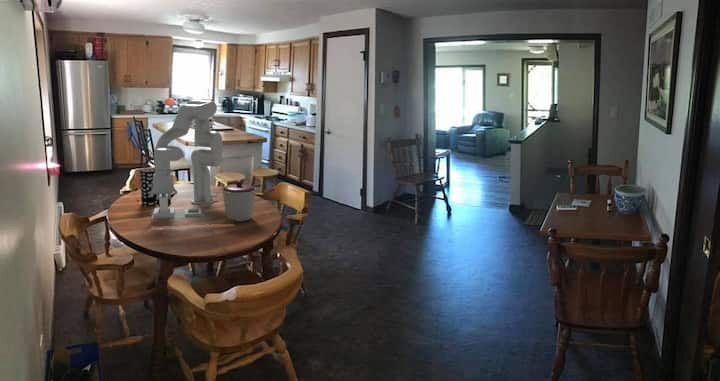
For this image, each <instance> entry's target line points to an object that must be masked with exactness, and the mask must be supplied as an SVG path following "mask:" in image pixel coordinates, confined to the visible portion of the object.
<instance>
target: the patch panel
mask: <svg viewBox="0 0 720 381" xmlns="http://www.w3.org/2000/svg"><path fill="white" fill-rule="evenodd" d="M153 210H154V211H153V212H152V215H151V218H150V220H151V222H152V221H153V220H160V219H161V220H162V219H184V218H185V219H190V218H205V210H204V209H202V208H200V207H199V208H185V209H184V210H176V208H175V206H174V207H173V206H172V207H170V206H169V212H160V207H155V208H154V209H153Z"/></svg>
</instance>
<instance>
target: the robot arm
mask: <svg viewBox="0 0 720 381" xmlns="http://www.w3.org/2000/svg"><path fill="white" fill-rule="evenodd" d="M217 108H218V107H217V104H216V102H215V101H214V100H207V99H205V100H204V99H190V100H188V101H187V102H186V103H183V104H181V106H179V109H178V111H177V114H176V116H175V119H174V121H173V124H172V126H171V127H170V128H169V129H168V130H166V131H165V132H164V133H162V135H161V136H159V138H158V140H157V142H156V146H155V148H154V151H153V157H154V161H153V162H154V170H155V174H154V176H153V188H152V190H151V191H150V193H149V194H150V195H152V196H153V197H155V198H156V199H157V205H156V206H158V208H160V202H159V197H160V195H162V194H166V195H168V207H169V208H170V206H171V205H172V202H171V200H172V198H173V197H175V196H177V195H178V193H179V192H178V190H177V189H176V188H175V185H174V178H173V174H172V173H174V169H171V162H177V161H180V160H181V159H182V158H183V155H184V152H183V149H182V148H180V147H179V146H173V145H169V144H170V143H171V142H172V141H174V140H175V139H178V138H182V137H185V136H186V135H187V134H188V133H189V131H190V127H191V125H192V123H193V121H194V140H193V141H194V144H195V146H197V147H201V148H197V149H194V150H192V152H191V155H190V161H191V164H192V173H193V174H192V175H193V176H192V178H193V180H192V181H193V199H191V201H190V202H191V204H193V205H198V206H199V205H210V204H212V203H215V202H214V198H218V197H219V196H218V194H217V193H214V194H213V193H211V192H212V191H211V171H210V169H209V167H213V168H215V167H217V168H218V167H219V166H220V165H221V162H222V159H223V158H222V157H223V137H222V134H221V133H220V132H218V131H215V130H211V121H210V118H211V117H214V115H215V114H216V113H217V111H218V110H217ZM203 148H204V149H203ZM205 148H209V149H205ZM156 194H157V195H156Z"/></svg>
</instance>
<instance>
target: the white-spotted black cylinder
mask: <svg viewBox="0 0 720 381" xmlns="http://www.w3.org/2000/svg"><path fill="white" fill-rule="evenodd" d="M154 174H155V168H154V169H153V168H147V169H146V168H145V169H140V170H139V177H140V178H139V179H140V180H139V181H140V198H141V200H140V201H141V206H142V207H144V208H145V207H146V208H147V207H149V208H150V207H156V206H158V205H157V199H156V198H155V197H153V196H152V195H150V194H149V193H150V191H151V190H152V188H153V176H154ZM156 195H157V194H156Z"/></svg>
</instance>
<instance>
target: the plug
mask: <svg viewBox="0 0 720 381" xmlns="http://www.w3.org/2000/svg"><path fill="white" fill-rule="evenodd" d="M159 202H160V207H159V208H160V212H169V208H170V206H169V207H168V194H160V195H159Z"/></svg>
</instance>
